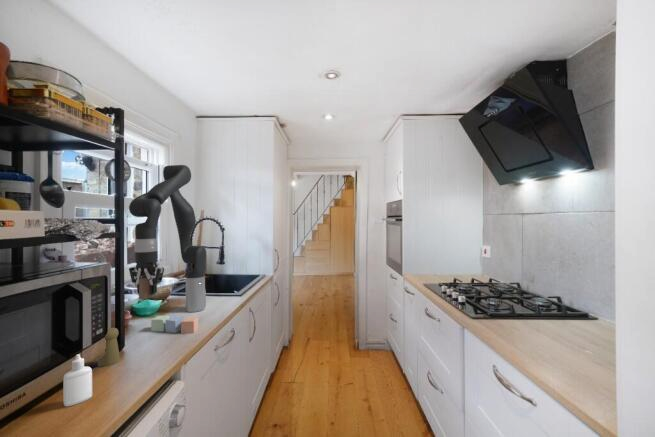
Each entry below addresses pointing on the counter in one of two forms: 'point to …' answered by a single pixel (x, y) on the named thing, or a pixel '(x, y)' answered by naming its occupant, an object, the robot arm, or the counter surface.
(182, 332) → the terracotta cube
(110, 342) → the olive pawn
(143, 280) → the wooden block
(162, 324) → the sage cube
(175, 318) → the slate blue cube
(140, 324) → the counter surface
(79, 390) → the eye dropper bottle
